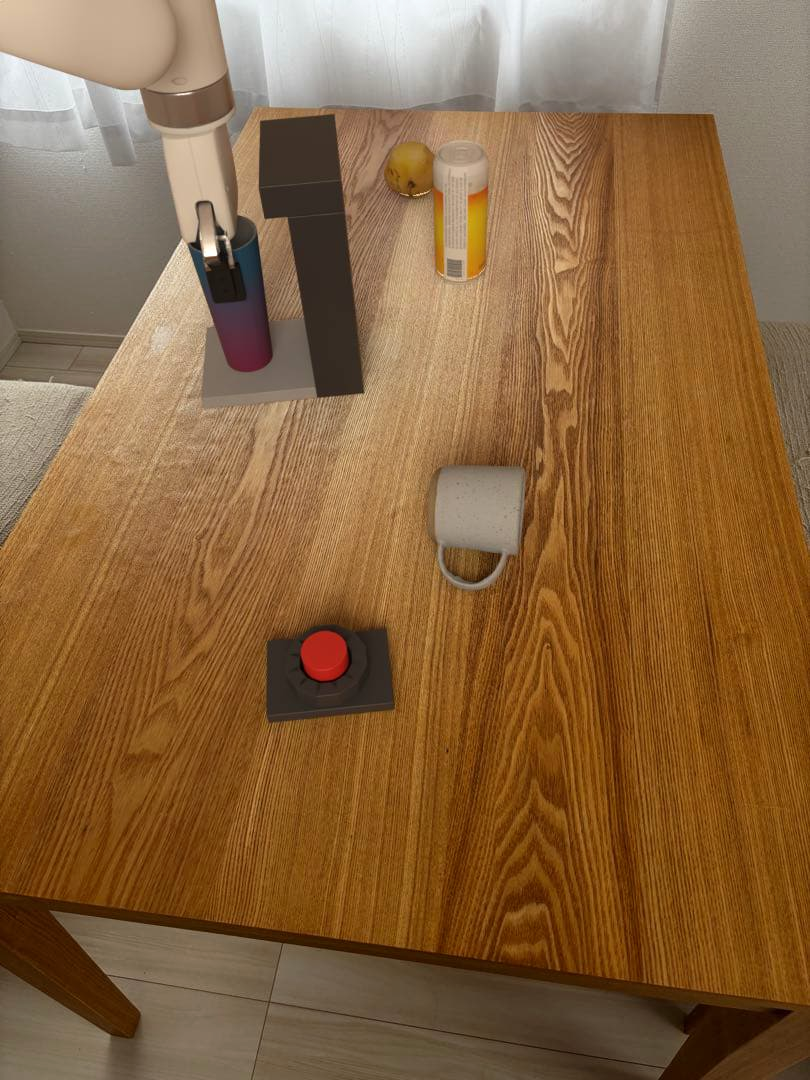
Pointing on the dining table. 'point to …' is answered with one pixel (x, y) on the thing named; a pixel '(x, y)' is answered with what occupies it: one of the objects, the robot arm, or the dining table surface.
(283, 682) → the pad
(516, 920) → the dining table surface
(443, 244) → the beer can
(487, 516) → the ceramic mug
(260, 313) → the cup
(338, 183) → the coffee maker
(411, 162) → the fruit
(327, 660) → the button
